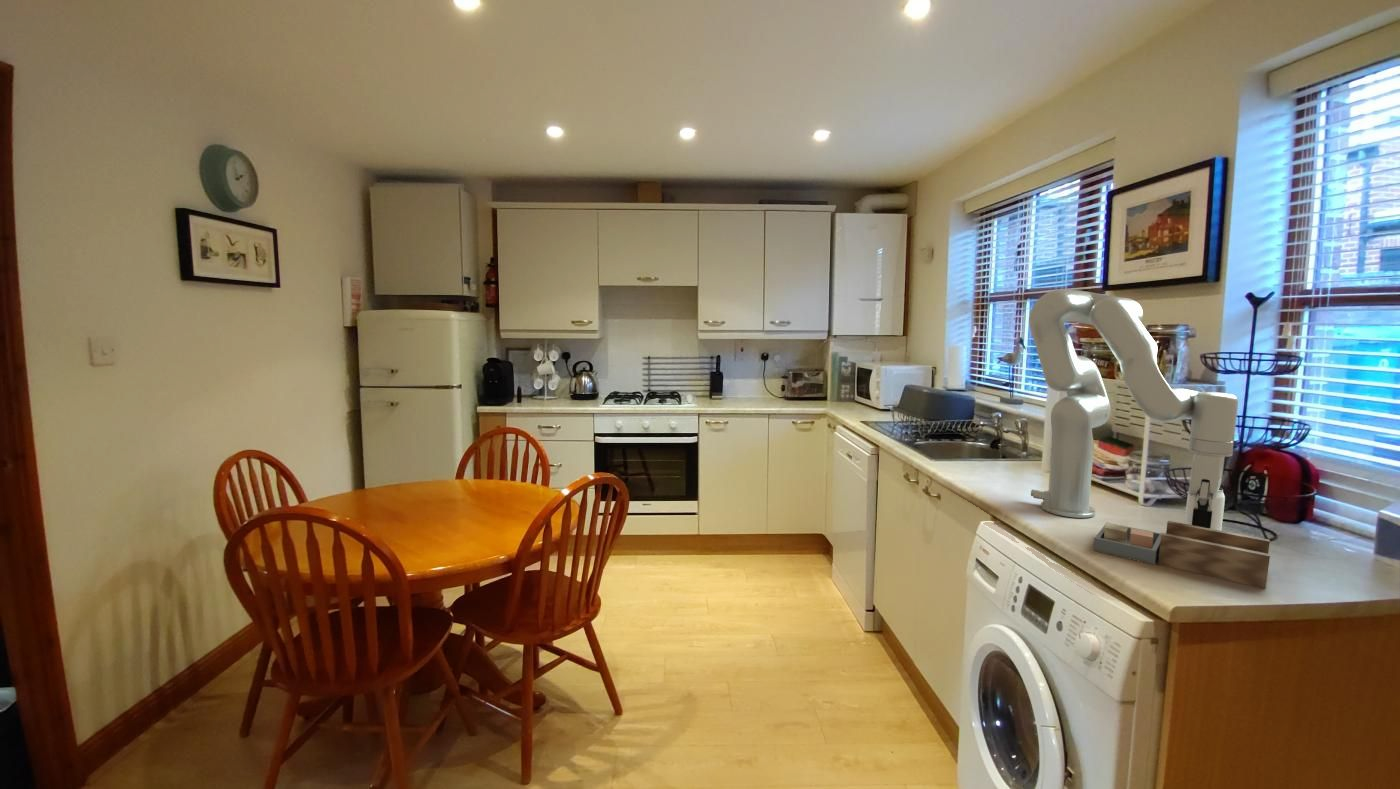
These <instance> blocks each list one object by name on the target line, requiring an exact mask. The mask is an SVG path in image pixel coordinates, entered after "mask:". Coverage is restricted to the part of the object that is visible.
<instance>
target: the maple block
mask: <svg viewBox="0 0 1400 789" xmlns="http://www.w3.org/2000/svg"><path fill="white" fill-rule="evenodd" d="M1106 523H1107V524H1106ZM1106 523H1105V524H1106V526H1105V531H1104V539H1107V540H1111V541H1116V542H1121V543H1125V544H1126V542H1127V531H1128V527H1129V526H1126V525H1121V526H1120V525H1119V524H1116V525H1114V524H1115V523H1111V524H1109V523H1110V522H1106ZM1125 526H1126V527H1125Z"/></svg>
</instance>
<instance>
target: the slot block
mask: <svg viewBox="0 0 1400 789" xmlns="http://www.w3.org/2000/svg"><path fill="white" fill-rule="evenodd" d="M1161 533H1162V534H1161V542H1160V552H1159V557H1158V562H1157V563H1158V564H1157V565H1160V564H1161V566H1166V567H1170V568H1174V569H1179V570H1181V571H1182V570H1183V571H1185V572H1187V571H1188V572H1192V573H1197V574H1200V575H1204V576H1209V577H1213V578H1218V579H1222V580H1227V581H1232V582H1236V583H1239V584H1244V585H1249V586H1253V587H1258V588H1262V589H1266V588H1267V581H1268V574H1269V566H1270V557H1271V554H1270V553H1269V550H1270V542H1271V541H1270V540H1271V539H1268V538H1262V537H1257V536H1252V535H1246V534H1241V533H1236V532H1230V531H1227V530H1226V531H1225V530H1221V531H1220V530H1215V529H1209V528H1204V527H1199V526H1193V525H1188V524H1185V523H1182V522H1175V521H1171V520H1168V521H1167V524H1166V530H1165V533H1164V532H1161Z"/></svg>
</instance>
